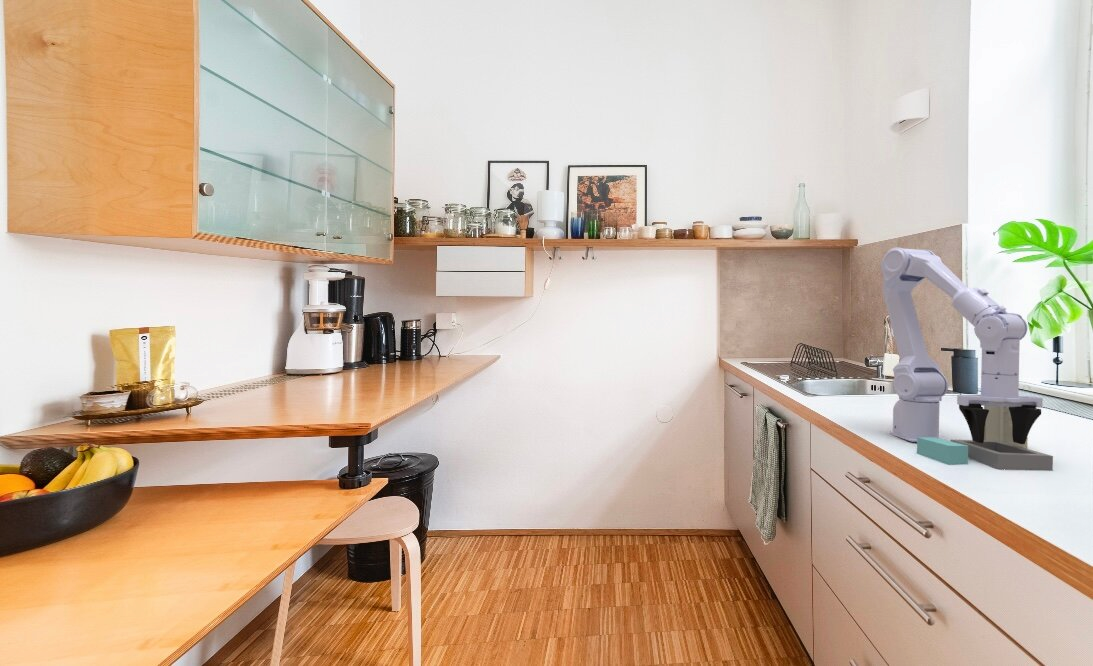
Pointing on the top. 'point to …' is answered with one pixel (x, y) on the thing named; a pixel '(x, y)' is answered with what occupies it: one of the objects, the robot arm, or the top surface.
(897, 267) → the robot arm
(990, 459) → the socket block
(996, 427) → the skincare box
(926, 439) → the peg
